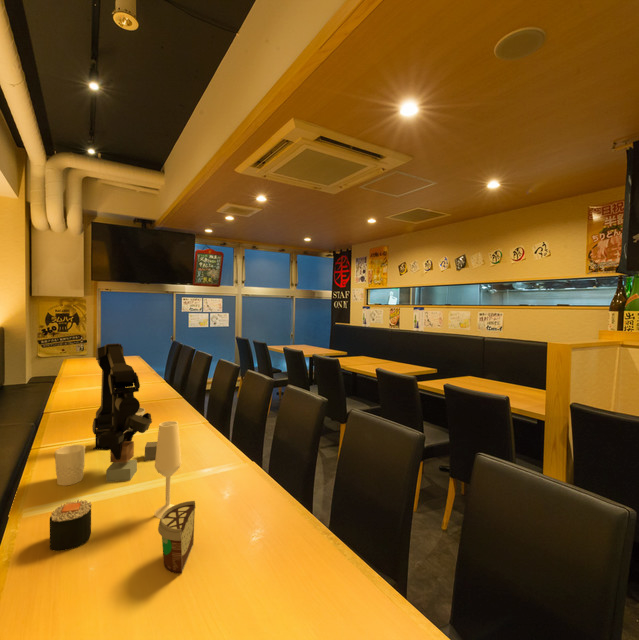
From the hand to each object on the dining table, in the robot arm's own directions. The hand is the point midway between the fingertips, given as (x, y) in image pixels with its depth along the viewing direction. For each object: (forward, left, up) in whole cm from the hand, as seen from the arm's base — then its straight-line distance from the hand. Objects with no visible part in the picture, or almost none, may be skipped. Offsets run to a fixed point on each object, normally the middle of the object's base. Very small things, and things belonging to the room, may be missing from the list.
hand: (122, 456), depth 120 cm
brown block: (+4, +15, -7) cm, 17 cm away
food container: (+30, -40, -7) cm, 50 cm away
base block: (0, 0, -7) cm, 7 cm away
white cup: (-14, -3, -7) cm, 16 cm away
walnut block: (0, 0, -1) cm, 1 cm away
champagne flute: (+22, -21, -7) cm, 31 cm away
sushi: (+4, -33, -7) cm, 34 cm away
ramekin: (-21, +51, -7) cm, 56 cm away
